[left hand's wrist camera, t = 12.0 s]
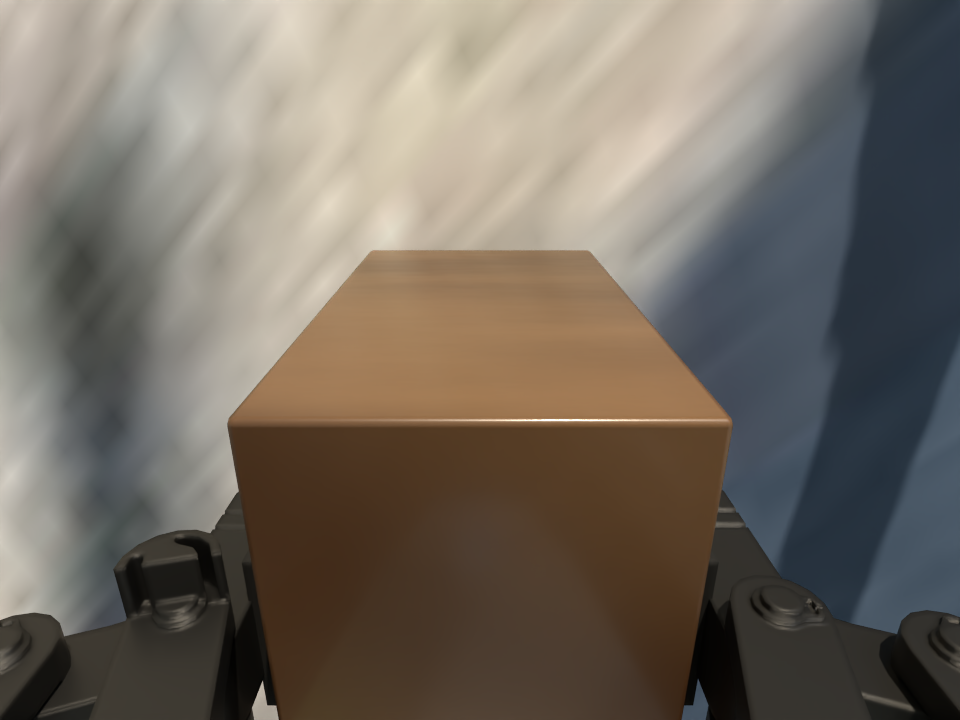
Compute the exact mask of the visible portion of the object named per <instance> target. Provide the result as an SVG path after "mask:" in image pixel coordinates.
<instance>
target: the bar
mask: <svg viewBox="0 0 960 720" xmlns="http://www.w3.org/2000/svg"><path fill="white" fill-rule="evenodd" d="M732 428H733V423H732V419H731V417H730V416H729V415H728V414H727V413H726V412H725V410H724V409H723V408H722V407H721V406H720V404H719V403H718V402H717V401H716V400H715V399H714V397H713V396H712V395H711V394H710V393H709V391H708V390H707V389H706V388H705V387H704V386H703V384H702V383H701V382H700V381H699V380H698V379H697V377H696V376H695V375H694V374H693V373H692V371H691V370H690V369H689V368H688V367H687V366H686V364H685V363H684V362H683V361H682V360H681V358H680V357H679V356H678V355H677V354H676V353H675V351H674V350H673V349H672V348H671V347H670V345H669V344H668V343H667V342H666V341H665V340H664V338H663V337H662V336H661V335H660V334H659V333H658V331H657V330H656V329H655V328H654V327H653V325H652V324H651V323H650V322H649V321H648V320H647V318H646V317H645V316H644V315H643V314H642V312H641V311H640V310H639V309H638V308H637V307H636V305H635V304H634V303H633V302H632V301H631V299H630V298H629V297H628V296H627V295H626V294H625V292H624V291H623V290H622V289H621V288H620V286H619V285H618V284H617V283H616V282H615V281H614V279H613V278H612V277H611V276H610V275H609V274H608V272H607V271H606V270H605V269H604V268H603V266H602V265H601V264H600V263H599V262H598V261H597V259H596V258H595V257H594V256H593V255H592V253H591V252H590V251H371V252H370V253H369V254H368V255H367V256H366V258H365V259H364V260H363V261H362V262H361V264H360V265H359V266H358V267H357V268H356V269H355V271H354V272H353V273H352V274H351V275H350V276H349V278H348V279H347V280H346V281H345V282H344V284H343V285H342V286H341V287H340V288H339V289H338V291H337V292H336V293H335V294H334V295H333V296H332V298H331V299H330V300H329V301H328V302H327V304H326V305H325V306H324V307H323V308H322V309H321V311H320V312H319V313H318V314H317V315H316V316H315V318H314V319H313V320H312V321H311V322H310V324H309V325H308V326H307V327H306V328H305V329H304V331H303V332H302V333H301V334H300V335H299V336H298V338H297V339H296V340H295V341H294V342H293V344H292V345H291V346H290V347H289V348H288V349H287V351H286V352H285V353H284V354H283V355H282V356H281V358H280V359H279V360H278V361H277V362H276V364H275V365H274V366H273V367H272V368H271V369H270V371H269V372H268V373H267V374H266V375H265V376H264V378H263V379H262V380H261V381H260V382H259V384H258V385H257V386H256V387H255V388H254V389H253V391H252V392H251V393H250V394H249V395H248V396H247V398H246V399H245V400H244V401H243V402H242V404H241V405H240V406H239V407H238V408H237V409H236V411H235V412H234V413H233V414H232V415H231V416H230V418H229V420H228V432H229V437H230V443H231V449H232V455H233V460H234V466H235V472H236V477H237V483H238V489H239V495H240V500H241V506H242V512H243V517H244V523H245V529H246V535H247V540H248V546H249V552H250V557H251V563H252V569H253V575H254V580H255V586H256V592H257V597H258V603H259V609H260V615H261V620H262V626H263V632H264V637H265V643H266V649H267V655H268V660H269V666H270V672H271V677H272V683H273V689H274V695H275V700H276V706H277V712H278V717H279V720H681V719H682V714H683V708H684V702H685V696H686V691H687V685H688V679H689V673H690V668H691V662H692V656H693V651H694V645H695V639H696V633H697V628H698V622H699V616H700V611H701V605H702V599H703V593H704V588H705V582H706V576H707V571H708V565H709V559H710V553H711V548H712V542H713V536H714V531H715V525H716V519H717V513H718V508H719V502H720V496H721V491H722V485H723V479H724V473H725V468H726V462H727V456H728V451H729V445H730V439H731V433H732Z"/></svg>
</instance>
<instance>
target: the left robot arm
mask: <svg viewBox="0 0 960 720" xmlns="http://www.w3.org/2000/svg"><path fill="white" fill-rule="evenodd" d="M113 570H114V574H115V577H116V581H117V584H118V588H119V591H120V595H121V599H122V602H123V606H124V609H125V613H126V616H127V619H126V621H124V622H121V623H117V624H114V625H111V626H107V627H103V628H99V629H94V630H90V631H86V632H82V633H77V634H73V635H69V636H64V635H63V632H62V629H61V626H60V623H59V622H58V621H57V620H56V619H54V618H53V617H52V616H51V615H46V614H40V613H29V614H22V615H15V616H11V617H8V618H5V619H2V620H0V720H254V716H253V711H252V706H253V704H254V701H255V699H256V696H257V693H258V691H259V688H260V686H261V683H262V681H263V684H264V689H265V695H266V700H267V705H276V700H275V695H274V689H273V683H272V677H271V672H270V666H269V660H268V655H267V649H266V643H265V637H264V632H263V626H262V620H261V615H260V609H259V603H258V597H257V592H256V586H255V580H254V575H253V569H252V563H251V557H250V552H249V546H248V540H247V535H246V529H245V523H244V517H243V512H242V506H241V500H240V495H239V492H238V493H237V494H236V495H235V497H234V498H233V500H232V501H231V503H230V504H229V506H228V507H227V509H226V510H225V515H222V516H221V518H220V519H219V521H218V523H217V524H216V526H215V530H212V532H211V533H206V532H203V531H199V530H180V531H174V532H170V533H166V534H162V535H158V536H156V537H154V538H152V539H149V540H147V541H145V542H143V543H141V544H139V545H137V546H136V547H135V548H133V549H132V550H131V551H129V552H128V553H127V554H125V555H124V556H123V557H122V558H121V560H120V561H119V562H118V564H117V565H116V566H115V568H114V569H113ZM698 679H699V682H700V684H701V687H702V689H703V692H704V695H705V697H706V700H707V702H708V705H709V706H708V711H707V716H706V720H960V617H957V616H954V615H952V614H949V613H943V612H936V611H929V610H925V611H919V612H913V613H910V614H909V615H908V616H906V617H905V618H904V619H903V620H902V621H901V624H900V627H899V630H898V633H897V634H894V633H889V632H885V631H881V630H877V629H872V628H868V627H864V626H859V625H855V624H851V623H848V622H844V621H841V620H838V619H835V618H833V616H832V614H831V613H830V611H829V610H828V608H827V607H826V605H825V604H824V603H823V602H822V601H821V600H820V599H819V598H818V597H816V596H815V595H814V594H813V593H812V592H810V591H809V590H807V589H805V588H803V587H801V586H800V585H798V584H796V583H794V582H792V581H789V580H785V579H782V578H781V577H780V575H779V574H778V572H777V571H776V569H775V568H774V566H773V565H772V563H771V562H770V560H769V559H768V557H767V556H766V554H765V553H764V551H763V550H762V548H761V547H760V545H759V544H758V542H757V540H756V539H755V537H754V536H753V534H752V533H751V531H750V530H749V528H746V526H745V522H744V521H743V519H742V518H741V516H740V515H739V513H736V509H735V507H734V506H733V504H732V503H731V501H730V500H729V498H728V497H727V495H726V494H725V492H724V491H723V490H722V491H721V496H720V502H719V508H718V513H717V519H716V525H715V531H714V536H713V542H712V548H711V553H710V559H709V565H708V571H707V576H706V582H705V588H704V593H703V599H702V605H701V611H700V616H699V622H698V628H697V633H696V639H695V645H694V651H693V656H692V662H691V668H690V673H689V679H688V685H687V691H686V696H685V702H684V705H693V703H694V697H695V691H696V686H697V680H698Z"/></svg>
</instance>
